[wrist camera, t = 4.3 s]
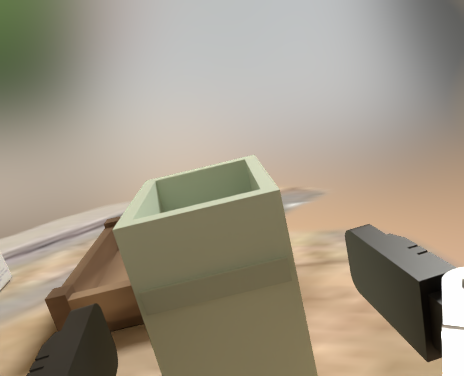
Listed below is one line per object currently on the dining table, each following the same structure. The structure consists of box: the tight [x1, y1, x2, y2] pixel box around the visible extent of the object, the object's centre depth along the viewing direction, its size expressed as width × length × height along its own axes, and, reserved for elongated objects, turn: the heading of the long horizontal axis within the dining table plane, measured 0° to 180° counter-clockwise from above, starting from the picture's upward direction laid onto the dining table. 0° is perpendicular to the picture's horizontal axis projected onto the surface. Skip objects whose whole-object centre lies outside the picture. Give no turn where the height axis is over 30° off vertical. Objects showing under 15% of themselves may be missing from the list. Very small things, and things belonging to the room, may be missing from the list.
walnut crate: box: [45, 217, 144, 331], centre depth 28 cm, size 12×14×3 cm
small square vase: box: [112, 155, 318, 376], centre depth 15 cm, size 5×6×9 cm
